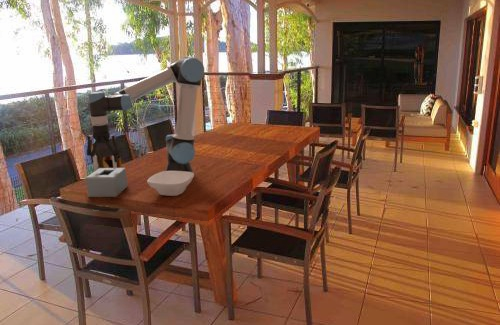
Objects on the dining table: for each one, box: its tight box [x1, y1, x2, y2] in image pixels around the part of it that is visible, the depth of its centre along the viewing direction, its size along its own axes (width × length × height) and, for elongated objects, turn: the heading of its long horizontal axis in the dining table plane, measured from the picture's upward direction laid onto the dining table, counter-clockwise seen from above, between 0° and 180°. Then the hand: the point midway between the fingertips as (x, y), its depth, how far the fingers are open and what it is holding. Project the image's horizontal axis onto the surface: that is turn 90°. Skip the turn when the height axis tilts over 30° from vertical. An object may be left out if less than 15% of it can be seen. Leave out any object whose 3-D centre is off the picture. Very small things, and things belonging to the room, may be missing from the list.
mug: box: [101, 155, 123, 168], centre depth 242 cm, size 10×14×12 cm
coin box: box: [85, 167, 128, 198], centre depth 222 cm, size 14×16×10 cm
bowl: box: [146, 170, 195, 197], centre depth 215 cm, size 21×21×9 cm
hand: (105, 168), depth 220 cm, fingers open, 9 cm apart
